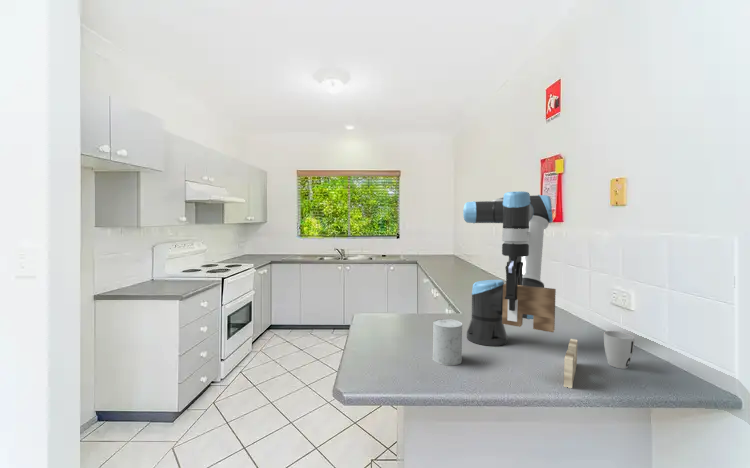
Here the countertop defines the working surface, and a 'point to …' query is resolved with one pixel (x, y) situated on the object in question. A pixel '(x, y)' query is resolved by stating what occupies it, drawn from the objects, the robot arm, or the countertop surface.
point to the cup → (618, 348)
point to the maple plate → (570, 363)
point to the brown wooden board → (533, 307)
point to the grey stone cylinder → (447, 341)
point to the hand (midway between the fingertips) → (513, 319)
